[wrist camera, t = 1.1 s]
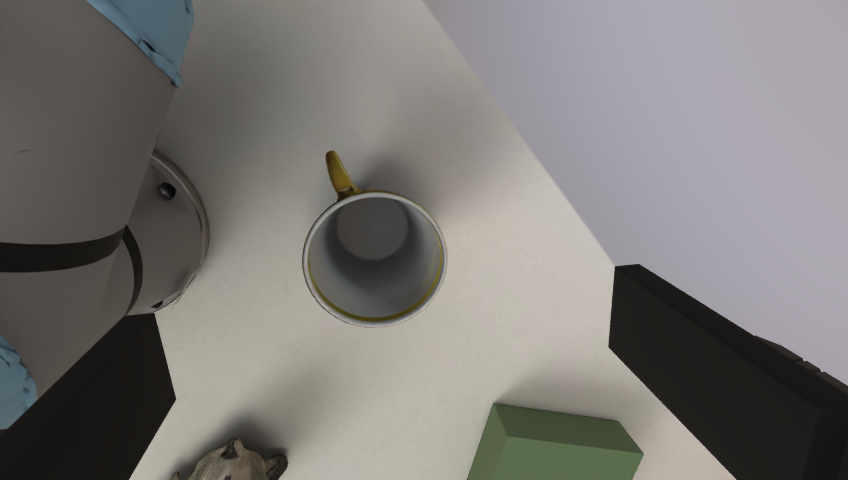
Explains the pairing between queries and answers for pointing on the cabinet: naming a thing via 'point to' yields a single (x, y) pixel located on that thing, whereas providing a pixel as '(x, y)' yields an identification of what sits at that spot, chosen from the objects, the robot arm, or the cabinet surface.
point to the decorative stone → (237, 465)
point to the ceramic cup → (373, 254)
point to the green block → (553, 447)
